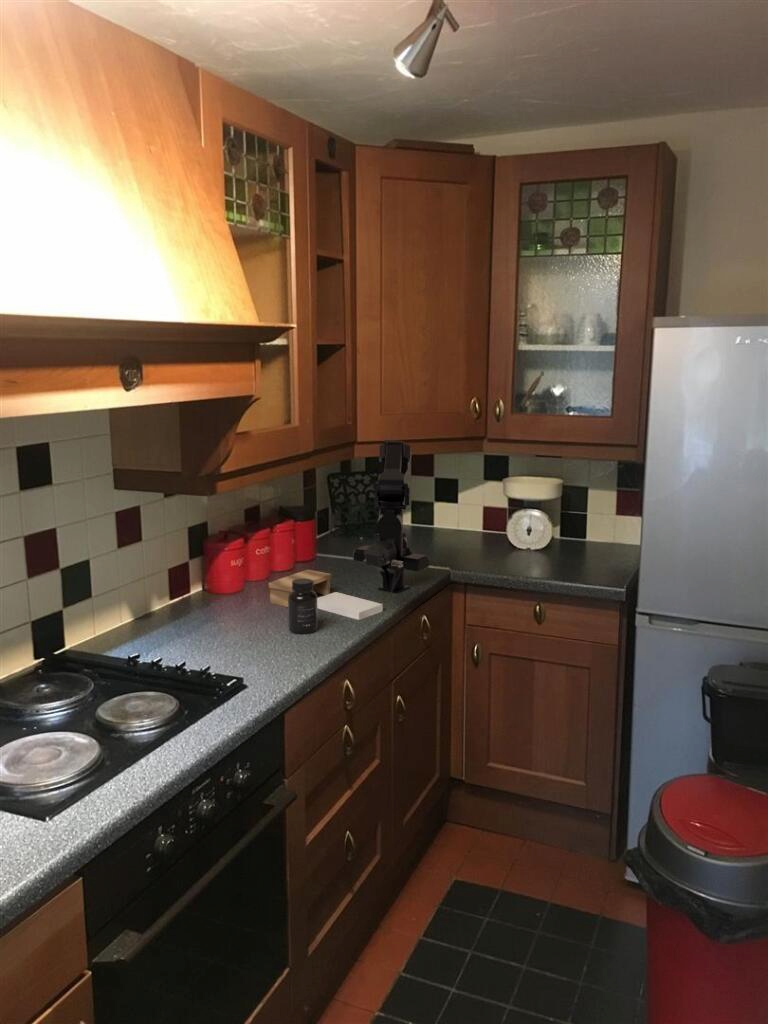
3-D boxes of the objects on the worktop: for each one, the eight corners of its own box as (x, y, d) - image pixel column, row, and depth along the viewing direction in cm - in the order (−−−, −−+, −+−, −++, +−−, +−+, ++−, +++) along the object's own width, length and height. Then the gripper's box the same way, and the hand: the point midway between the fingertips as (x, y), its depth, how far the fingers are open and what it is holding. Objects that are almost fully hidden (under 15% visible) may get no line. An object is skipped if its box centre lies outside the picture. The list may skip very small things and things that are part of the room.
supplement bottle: (285, 627, 205) (284, 578, 203) (313, 624, 207) (312, 575, 205) (292, 636, 199) (292, 586, 196) (321, 633, 201) (320, 583, 199)
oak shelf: (307, 589, 236) (307, 569, 235) (331, 594, 232) (331, 574, 230) (269, 603, 223) (268, 582, 222) (293, 609, 218) (292, 587, 217)
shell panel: (335, 600, 228) (335, 591, 227) (382, 613, 218) (382, 604, 217) (311, 608, 221) (311, 599, 220) (359, 622, 211) (359, 612, 210)
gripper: (339, 530, 206) (339, 593, 209) (406, 541, 196) (405, 607, 199) (366, 522, 215) (365, 583, 218) (430, 532, 205) (429, 595, 208)
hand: (390, 592), depth 211 cm, fingers closed
